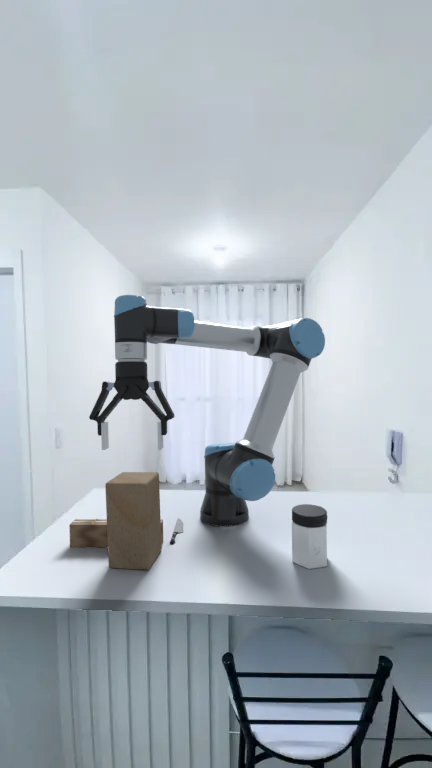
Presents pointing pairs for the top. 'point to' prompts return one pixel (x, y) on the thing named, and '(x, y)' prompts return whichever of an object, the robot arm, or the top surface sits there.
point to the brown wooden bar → (92, 533)
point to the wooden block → (133, 520)
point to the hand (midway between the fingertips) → (132, 448)
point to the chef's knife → (177, 530)
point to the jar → (309, 536)
